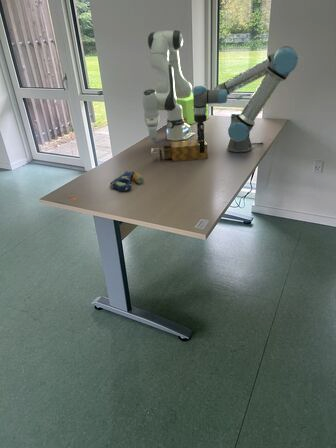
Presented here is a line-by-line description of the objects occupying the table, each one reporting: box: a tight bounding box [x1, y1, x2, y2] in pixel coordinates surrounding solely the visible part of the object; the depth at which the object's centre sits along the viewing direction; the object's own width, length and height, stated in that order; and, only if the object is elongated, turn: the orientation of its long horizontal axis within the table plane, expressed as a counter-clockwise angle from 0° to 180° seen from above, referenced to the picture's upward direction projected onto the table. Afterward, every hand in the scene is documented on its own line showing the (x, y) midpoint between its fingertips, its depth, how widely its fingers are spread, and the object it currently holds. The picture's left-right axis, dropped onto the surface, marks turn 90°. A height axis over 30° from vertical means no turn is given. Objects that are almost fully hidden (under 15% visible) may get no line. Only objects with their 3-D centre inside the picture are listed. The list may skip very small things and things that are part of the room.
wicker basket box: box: [170, 138, 208, 162], centre depth 210 cm, size 22×11×9 cm, turn 91°
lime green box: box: [177, 92, 209, 126], centre depth 283 cm, size 25×21×23 cm
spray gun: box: [109, 170, 144, 192], centre depth 182 cm, size 21×4×15 cm
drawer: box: [150, 144, 172, 161], centre depth 210 cm, size 26×10×7 cm, turn 91°
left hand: (154, 141), depth 207 cm, fingers closed
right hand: (201, 149), depth 210 cm, fingers closed on wicker basket box, 11 cm apart
